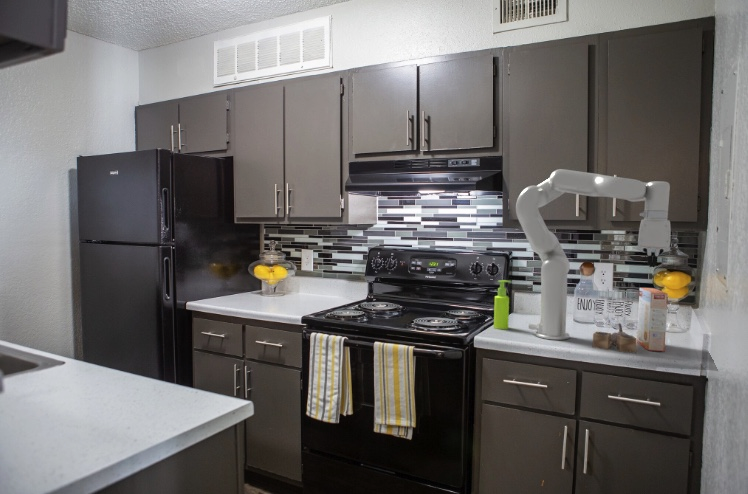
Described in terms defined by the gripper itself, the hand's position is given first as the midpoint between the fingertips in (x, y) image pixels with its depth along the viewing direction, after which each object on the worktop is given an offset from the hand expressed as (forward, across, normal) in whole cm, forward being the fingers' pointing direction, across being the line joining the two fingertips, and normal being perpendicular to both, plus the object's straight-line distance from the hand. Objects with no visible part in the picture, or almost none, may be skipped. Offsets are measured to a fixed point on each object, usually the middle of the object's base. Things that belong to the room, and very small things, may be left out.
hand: (651, 266), depth 193 cm
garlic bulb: (+30, -9, -1) cm, 31 cm away
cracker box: (+30, +1, 0) cm, 30 cm away
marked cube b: (+30, -15, -9) cm, 34 cm away
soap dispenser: (+31, -54, +7) cm, 62 cm away
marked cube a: (+30, -7, -10) cm, 32 cm away
